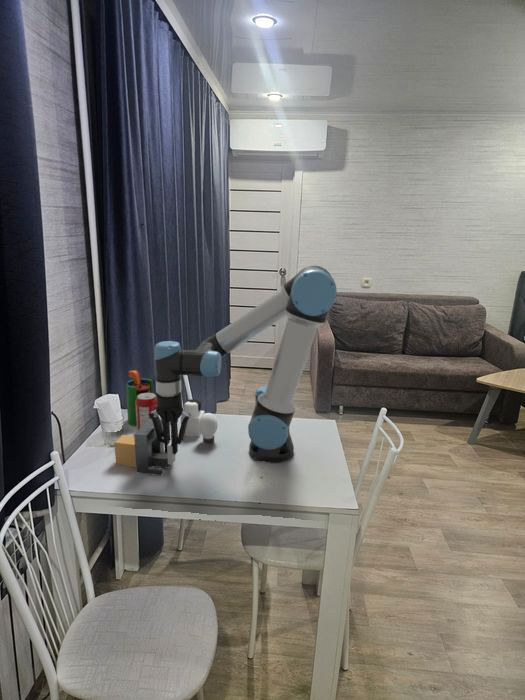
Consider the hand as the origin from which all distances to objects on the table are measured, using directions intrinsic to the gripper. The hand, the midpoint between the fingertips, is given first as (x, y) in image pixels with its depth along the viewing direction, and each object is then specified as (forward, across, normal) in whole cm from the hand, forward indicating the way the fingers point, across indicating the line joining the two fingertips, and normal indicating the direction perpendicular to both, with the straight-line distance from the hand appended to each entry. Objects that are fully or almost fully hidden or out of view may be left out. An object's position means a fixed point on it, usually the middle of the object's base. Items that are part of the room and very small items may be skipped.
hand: (171, 462), depth 140 cm
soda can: (+2, +17, -19) cm, 25 cm away
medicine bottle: (+2, +2, -25) cm, 25 cm away
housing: (+1, +5, 0) cm, 5 cm away
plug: (+1, +9, 0) cm, 9 cm away
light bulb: (+2, -6, -18) cm, 19 cm away
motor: (+2, +25, -29) cm, 38 cm away
